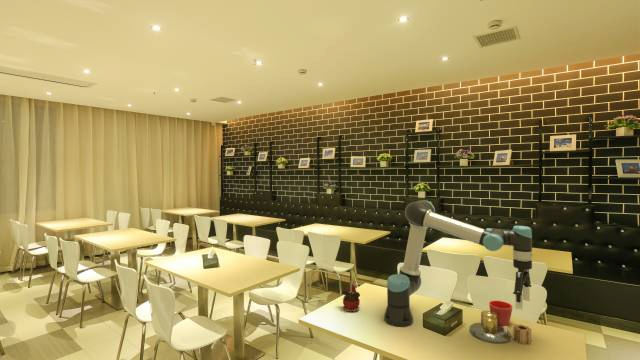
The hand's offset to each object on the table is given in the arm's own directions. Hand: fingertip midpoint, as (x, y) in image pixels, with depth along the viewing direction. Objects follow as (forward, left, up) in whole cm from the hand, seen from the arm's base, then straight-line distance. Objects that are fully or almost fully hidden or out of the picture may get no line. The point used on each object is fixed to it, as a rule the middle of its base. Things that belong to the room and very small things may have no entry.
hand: (522, 304), depth 155 cm
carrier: (-14, +1, -17) cm, 22 cm away
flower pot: (-8, +17, -17) cm, 25 cm away
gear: (0, 0, -17) cm, 17 cm away
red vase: (-86, +3, -17) cm, 87 cm away
